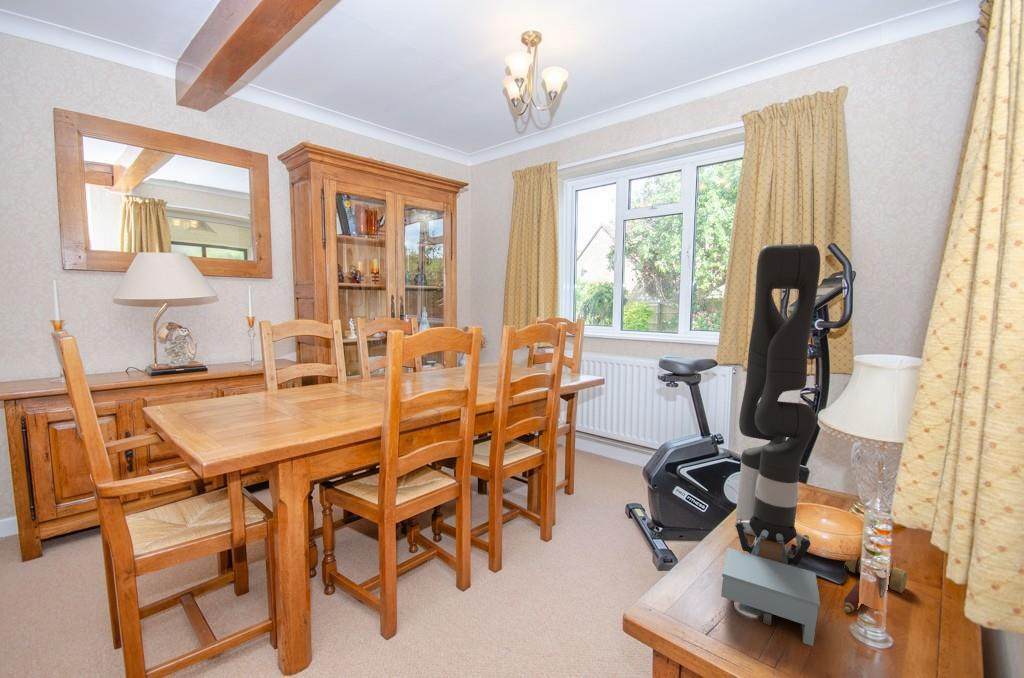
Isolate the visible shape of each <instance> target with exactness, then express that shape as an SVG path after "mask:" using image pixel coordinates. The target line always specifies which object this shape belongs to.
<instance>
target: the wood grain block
mask: <svg viewBox="0 0 1024 678" xmlns="http://www.w3.org/2000/svg"><path fill="white" fill-rule="evenodd" d="M782 549H783V544H780V543H777V541H773V540H769V539H766V540H764V539H760V548H759V553H758V556H759V557H762V558H766V559H769V560H773V561H776V562H779V563H781V558H782ZM772 615H773V614H771V613H768V612H765V611H763V618H762V623H763V624H766V625H768V626H771V625H772Z"/></svg>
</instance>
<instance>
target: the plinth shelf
mask: <svg viewBox="0 0 1024 678" xmlns="http://www.w3.org/2000/svg"><path fill="white" fill-rule="evenodd" d="M721 573H722V574H721V577H722V583H721V594H720V597H722V598H725V599H728V600H731V601H733V602H734V601H736V602H739V603H742V604H745V605H748V606H751V607H754V608H757V609H760V610H762V611H765V612H768V613H771V614H772V615H774V616H775V615H776V616H777V617H780V618H784V619H787V620H790V621H793V622H795V623H798V624H801V634H802V635H801V636H802V643H803V644H806V645H808V646H811V647H814V641H815V634H816V627H817V619H818V611H819V608H820V607H821V602H820V601H821V600H820V594H819V588H818V586H819V585H818V580H817V573H816V572H814V571H812V570H811V571H810V570H806V569H803V568H799V567H796V566H793V565H791V564H789V565H786V564H783V563H779V562H776V561H773V560H769V559H766V558H762V557H759V556H755V555H752V554H750V553H749V552H746V551H740V550H737V549H733V548H731V547H727V548H726V552H725V556H724V562H723V567H722V572H721Z"/></svg>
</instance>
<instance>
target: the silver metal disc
mask: <svg viewBox="0 0 1024 678" xmlns="http://www.w3.org/2000/svg"><path fill="white" fill-rule="evenodd" d="M733 611H734V612H735V614H736V615H738V616H739V617H741V618H742V619H744V620H747V621H750V622H755V623H756V622H760V621H763V611H762V610H760V609H757V608H754V607H751V606H748V605H745V604H742V603H739V602H736V601H733Z"/></svg>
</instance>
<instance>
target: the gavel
mask: <svg viewBox="0 0 1024 678" xmlns="http://www.w3.org/2000/svg"><path fill="white" fill-rule="evenodd" d="M845 565H846V566H847V567H848V568H849V571H848V572H851V573H853V574H857V573H858V574H860V573H859V566H860V557H858V559H856V560H855V561H846V562H845V561H844V566H845ZM907 581H908V573H907V571H906V570H904V569H900V568H898V567H896V566H895V567H894V568H892V567H890V576H889V586H888V587H889V589H891V590H893V591H895V592H898V593H901V594H902V593H903V592H904V591H905V590H906V586H907ZM853 585H854V586H853V587H852V588H851V589H850V591H849V592H848V593H847V595H846V596H845V597H844V601H843V603H844V609H843V610H844V611H845V613H848V614H849V613H852V612H855V611H858V610H857V608H858V603H859V579H858V580H857V581H856V582H855V584H853Z"/></svg>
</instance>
